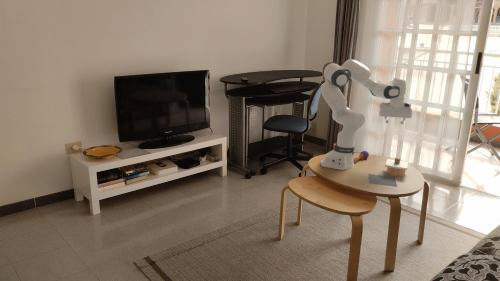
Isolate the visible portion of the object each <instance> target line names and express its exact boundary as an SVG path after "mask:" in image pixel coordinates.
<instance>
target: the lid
mask: <svg viewBox="0 0 500 281" xmlns="http://www.w3.org/2000/svg"><path fill="white" fill-rule="evenodd" d="M384 167H385V168H387V167H390V168H396V169H403V170H406V171H408V167H409V161H406V160H405V161H404V160H401V158H400V157H395V158H394V159H390V158H387V160H386V162H385V165H384Z"/></svg>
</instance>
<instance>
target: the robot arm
mask: <svg viewBox="0 0 500 281" xmlns="http://www.w3.org/2000/svg"><path fill="white" fill-rule="evenodd" d="M371 72H372V71H371V70H370V69H369V68H368V67H367V66H366V65H365V64H363V63H361V62H360V61H358V60H355V59H352V58H351V59H347V60H345V62H344V63H343V64H341V65H339V64H337V63H336V62H334V61H333V62H332V61H329V62H327V63H325V64H324V66H323V67H322V78H323V81H324V83H323V84H322V85H321V86H320V92H321V95H322V97H323V99H324V100H325V102H326V103H327V105H328V106H329V108H330V109H331V111H332V113H331V117H332V120H333V121H335V122H336V123H338V124H340V125H343V128H342V130H341V131H339V132H338V133H337V141H336V143H333V149H332V150H331V151H328V152H327V153H326V154H325V156H324V158H323V159H321V160H320V166H321V167H324V168H329V169H334V170H341V171H346V170H349V169H353V168H355V163H354V161H353V159H354V155H355V140H356V139H355V138H356V135H357V133H358V131H359V129H361V128H362V127H363V126H364V124H365V121H366V119H365V118H366V117H365V116H364V114H363V113H361V112H359V111H357V110H354V109H352V108H350V107H348V106H347V104H348V100H347V98H346V97H345V95H344V94H343V92H342V91H341V89H340V88H343V87H344V86H346V85H347V83H348V82H350V81H351V80H352V81H353V82H355V83H358V84H360V85H363V86H364V87H365V88H366V89H367V90H369V92H370V94H371V96H374V97H376V98H382V99H386V100H389V102H385V101H383V102H381V103H380V104H379V108H380V109H379V114H378V115H379V116H380V117H384V120H385V124H389V119H387V118H389V117H390V118H402V120H401V121H400V125H404V122H405V121H406V119H411V118H412V116H413V110H412V103H411V102H409V101H406V100H405V94H406V90H407V81H406V80H405V79H404V78H398V77H394V78H393V80H391V81H390V82H387V83H386V82H381V81H378V80H377V81H376V80H374V79H373V78H371V76H372V73H371Z"/></svg>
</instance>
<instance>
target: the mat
mask: <svg viewBox="0 0 500 281" xmlns="http://www.w3.org/2000/svg"><path fill="white" fill-rule="evenodd" d="M368 184H372V185H379V186H388V187H389V186H390V187H398V185H397V180H396V176H392V175H381V174H374V173H373V174H372V173H368Z"/></svg>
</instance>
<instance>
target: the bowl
mask: <svg viewBox="0 0 500 281" xmlns="http://www.w3.org/2000/svg"><path fill="white" fill-rule="evenodd" d="M406 172H407V170H403V169H396V168H390V167H386V174H387V175H388V176H392V177H404V176H405V175H406Z"/></svg>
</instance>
